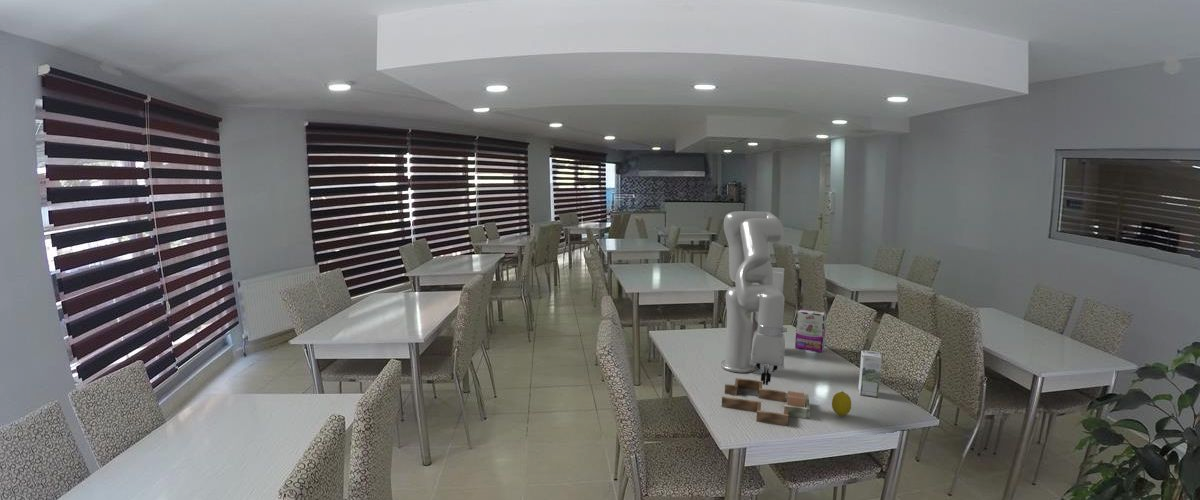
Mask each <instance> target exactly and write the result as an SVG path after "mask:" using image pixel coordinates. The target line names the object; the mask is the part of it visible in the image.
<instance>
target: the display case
mask: <svg viewBox="0 0 1200 500" xmlns="http://www.w3.org/2000/svg"><path fill="white" fill-rule="evenodd" d="M772 269H773V285H776V286H778V287H779V288H780V290H781V292H782V294H783V295H784V282H785V268H783V267H772ZM751 285H759V284H758V283H751ZM758 314H759V312H750V320H751V321H752V342H753V337H754V333H755V331H756V330H757V327H758ZM751 350H752V345H751Z"/></svg>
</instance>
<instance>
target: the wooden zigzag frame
mask: <svg viewBox="0 0 1200 500" xmlns="http://www.w3.org/2000/svg"><path fill="white" fill-rule="evenodd" d="M724 394H726V395H732V396H733V395H734V396H738V395H744V396H753V397H757V398H758V399H764V400H771V401H778V402H786V403H787V396H788V391H785V390H784V391H783V390H776V389H775V390H773V389H768V388H767V389H766V388H763V381H761V380H755V379H750V378H749V379H747V378H739V377H736V378H735V381H734V384H727V383H725V384H724ZM804 395H805V404H804V407H797V406H790V405H787V404H784V406H783V413H779V412H778V413H777V412H773V411H772V412H771V411H765V410H761V409H762V401H760V400H750V399H745V398H737V397H729V396H722V397H721V407H723V408H730V409H735V410H743V411H751V412H752V411H753V412H756V422H760V423H768V424H773V425H781V426H782V425H783V426H788V425H789V417H795V418H802V419H811V417H810V416H811V406H810V397H809V396H810V395H809V394H807V393H804Z"/></svg>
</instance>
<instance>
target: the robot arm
mask: <svg viewBox="0 0 1200 500" xmlns="http://www.w3.org/2000/svg"><path fill="white" fill-rule="evenodd" d="M723 229H724V230H723V231H724V235H725V238H726V240H727V244H728V268H729V269H728V270H729V271H728V273H729V278H730V280H731V281H732V282H733V283H735V286H733V287H729V288H728V289H727V291H726V293H725V304H726V306H725V307H726V334H725V335H726V337H725V357H724V360H722V361H721V362H720V367H721V368H722V369H724V370H725V371H728V372H731V373H740V374H741V373H743V374H744V373H750V372H753V371H754V370H755V367H757V369H758V370H759V371H760V375H761V376H760V381H763V383H762V386H763V385H764V386H765V385H766V386H769V383H771V378H772V374H773V372H775V371H777V370H784V369H785V363H784V362H785V354H786V353H785V351H786V349H785V348H786V345H785V343H786V341H785V334H784V333H787V332H788V328H787V327H785V326H784V324H783V323H784V322H783V321H784V310H785V295H784V293H783V294H782V292H781V290H780V288H779V287H778V286H776V285H773V269H772V268H773V266H772V263H771V262H770V260H771V252H770V247H769V243H779V242H780V241H781V240H782V239H783V237H784V227H783V224H782V222H781V220H780V219H779V218H778V217H777V216H776V215H774V214H773V213H772V212H770V211H751V210H750V211H748V210H747V211H744V210H743V211H742V210H739V211H738V210H737V211H732V212H731V211H730V212H729V213H727V214H726V215H725V216H724V219H723ZM752 283H758V284H759V285H752ZM751 312H759V314H758V327H757V330H756V331H755V333H754V337H753V342H752V321H751V317H749V316H748V315H747V314H748V313H751ZM751 345H752V350H751ZM765 365H766V366H767V365H768V368H767V370H766V368H765Z"/></svg>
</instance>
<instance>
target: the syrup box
mask: <svg viewBox="0 0 1200 500" xmlns="http://www.w3.org/2000/svg"><path fill="white" fill-rule="evenodd" d="M860 352H861V353H860V365H859V372H858V373H859V374H858V385H857V389H858V393H859V396H864V397H865V396H866V397H872V398H879V391H880V380H881V372H882V362H883V358H882V355H881V353H880V352H879V351H874V350H863V349H862V350H861V351H860Z"/></svg>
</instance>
